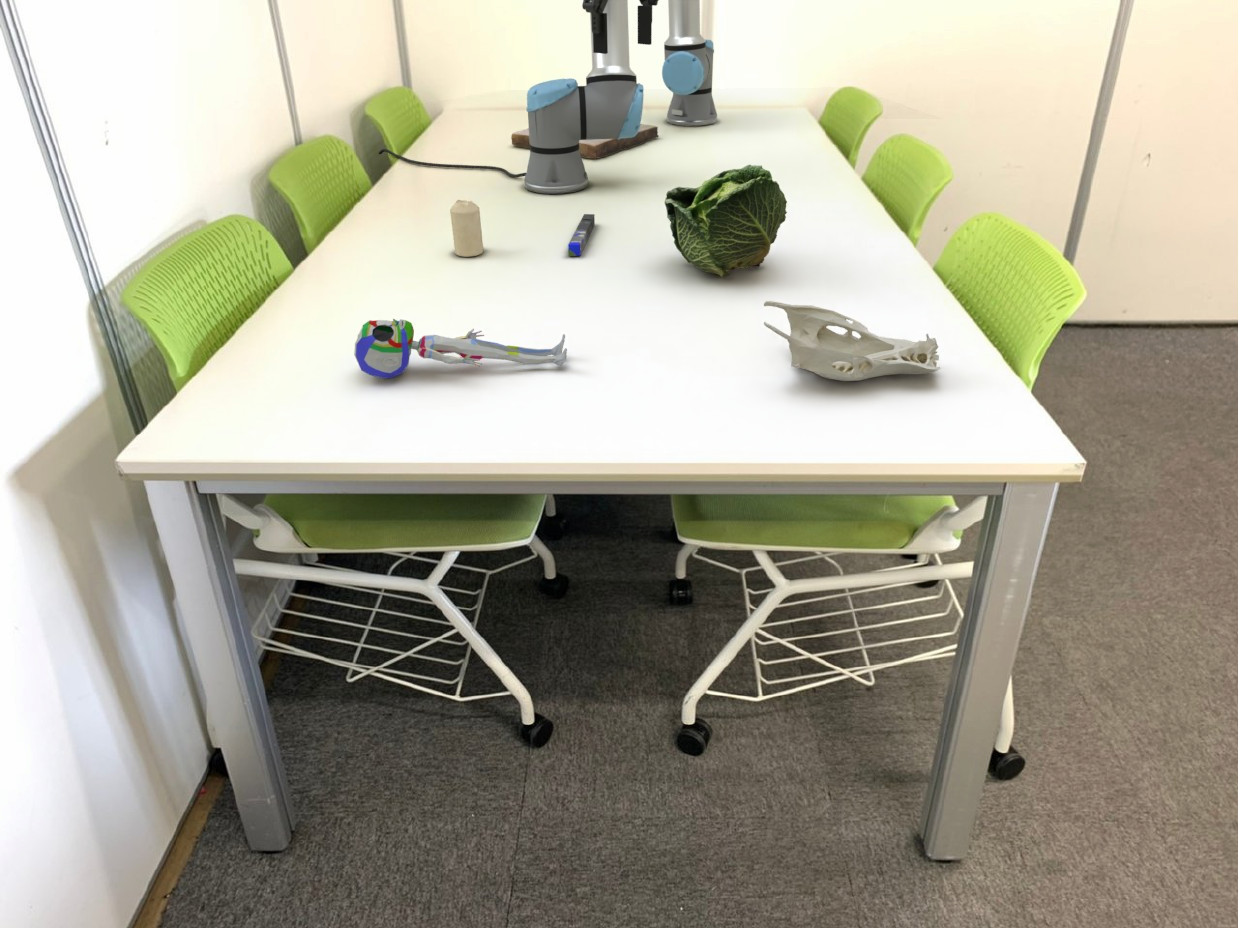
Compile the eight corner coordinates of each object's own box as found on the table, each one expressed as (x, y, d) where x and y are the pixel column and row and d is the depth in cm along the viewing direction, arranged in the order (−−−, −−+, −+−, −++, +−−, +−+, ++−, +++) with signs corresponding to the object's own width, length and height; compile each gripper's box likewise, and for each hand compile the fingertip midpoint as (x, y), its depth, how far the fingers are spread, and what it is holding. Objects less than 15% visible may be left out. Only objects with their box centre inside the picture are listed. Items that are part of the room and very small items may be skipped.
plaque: (595, 132, 231) (509, 119, 246) (596, 160, 235) (510, 145, 250) (660, 113, 252) (577, 102, 267) (660, 139, 256) (577, 127, 271)
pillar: (594, 214, 188) (579, 245, 171) (594, 224, 189) (579, 256, 172) (584, 214, 188) (567, 245, 171) (584, 224, 189) (568, 256, 172)
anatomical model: (764, 291, 133) (938, 293, 129) (761, 348, 137) (929, 352, 134) (762, 333, 120) (955, 337, 116) (759, 393, 125) (945, 399, 121)
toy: (569, 347, 126) (349, 329, 122) (563, 400, 131) (350, 385, 126) (565, 318, 135) (359, 301, 130) (559, 369, 139) (360, 354, 134)
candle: (488, 249, 176) (483, 198, 171) (475, 258, 172) (470, 206, 167) (463, 246, 178) (457, 196, 173) (450, 255, 174) (443, 204, 168)
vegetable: (694, 294, 173) (643, 202, 166) (775, 239, 175) (728, 145, 167) (734, 307, 155) (678, 205, 147) (824, 245, 156) (773, 141, 149)
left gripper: (593, -84, 145) (597, 59, 156) (679, -87, 162) (677, 42, 173) (558, -84, 149) (564, 55, 160) (646, -87, 165) (645, 39, 177)
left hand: (623, 48), depth 167 cm, fingers open, 13 cm apart
